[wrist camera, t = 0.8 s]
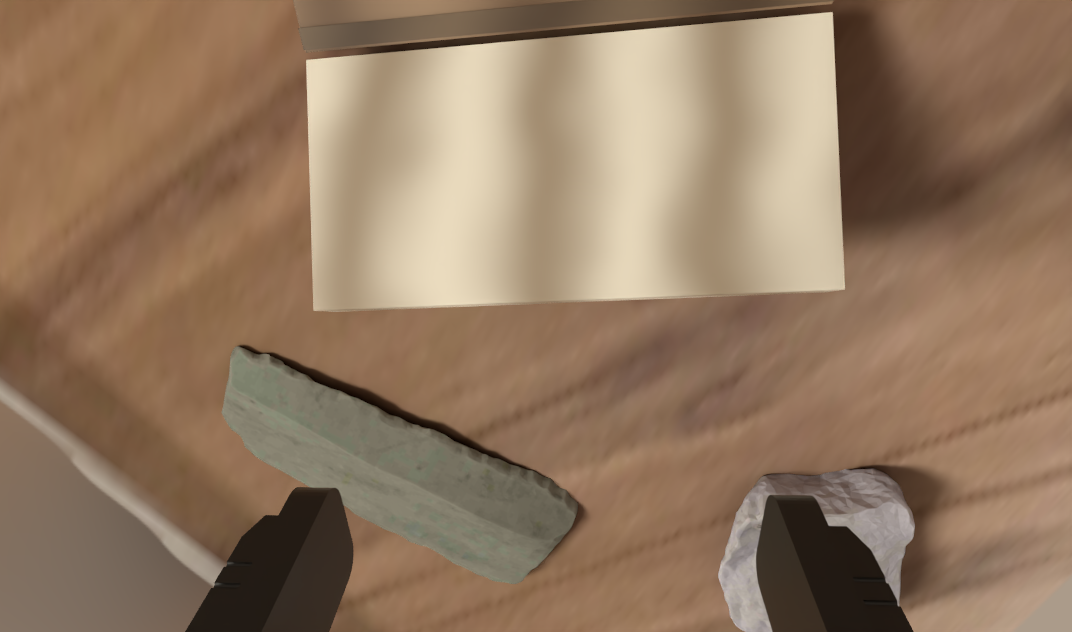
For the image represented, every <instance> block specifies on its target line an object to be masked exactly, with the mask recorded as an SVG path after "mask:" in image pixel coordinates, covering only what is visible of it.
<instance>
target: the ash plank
mask: <svg viewBox="0 0 1072 632" xmlns="http://www.w3.org/2000/svg"><path fill="white" fill-rule="evenodd" d="M306 67H307V101H308V135H309V170H310V204H311V239H312V273H313V307H314V311H332V312H341V311H366V310H391V309H416V308H441V307H466V306H491V305H516V304H542V303H567V302H592V301H617V300H642V299H667V298H692V297H718V296H743V295H768V294H793V293H818V292H830V291H837V290H844V289H845V280H844V258H843V235H842V212H841V190H840V167H839V144H838V121H837V99H836V76H835V53H834V30H833V12H828V13H817V14H806V15H795V16H784V17H773V18H762V19H751V20H740V21H730V22H719V23H708V24H697V25H686V26H675V27H664V28H653V29H642V30H631V31H620V32H609V33H598V34H587V35H576V36H565V37H554V38H543V39H532V40H521V41H510V42H499V43H488V44H477V45H466V46H455V47H444V48H433V49H422V50H411V51H400V52H389V53H378V54H367V55H356V56H345V57H334V58H323V59H312V60H306Z"/></svg>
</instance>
